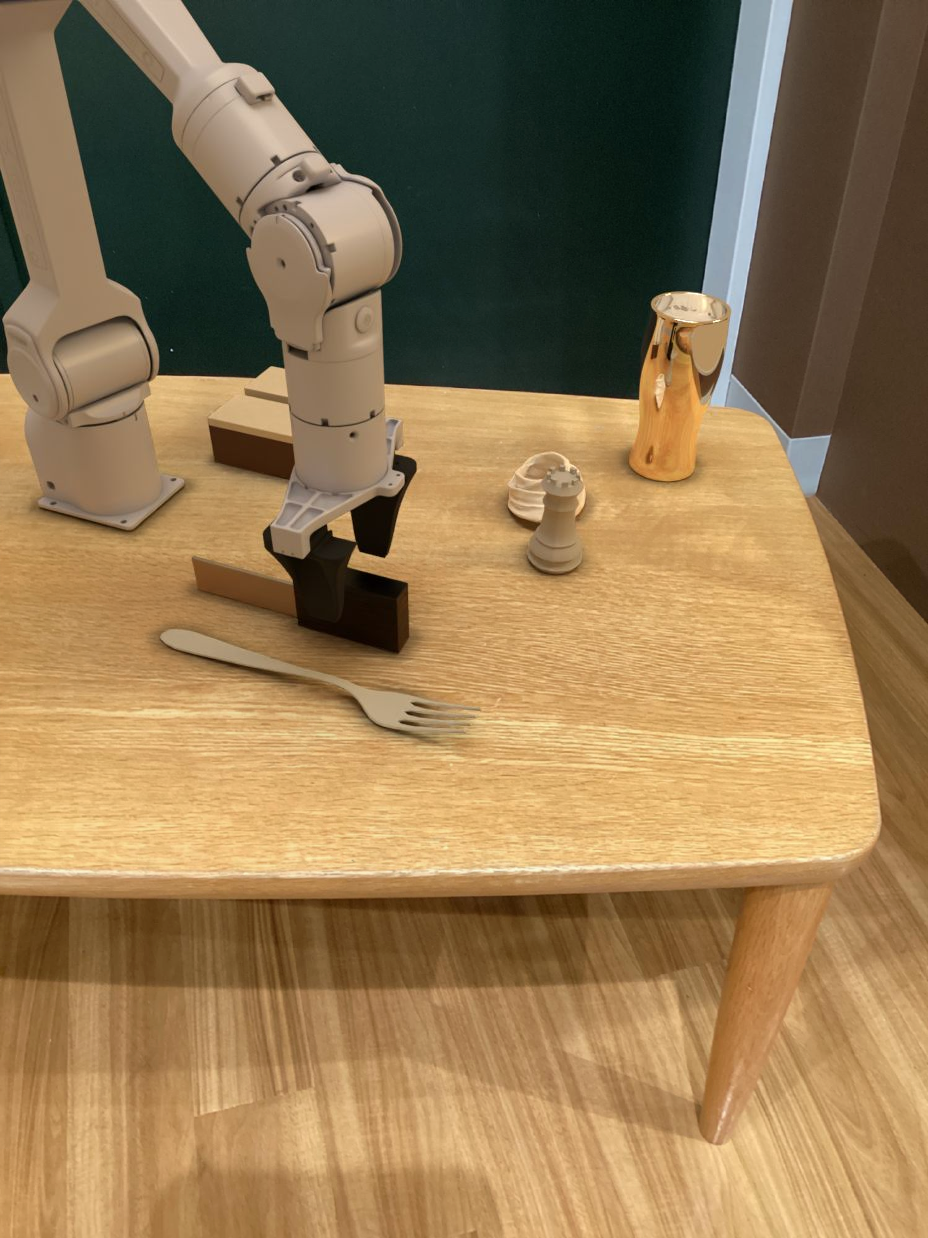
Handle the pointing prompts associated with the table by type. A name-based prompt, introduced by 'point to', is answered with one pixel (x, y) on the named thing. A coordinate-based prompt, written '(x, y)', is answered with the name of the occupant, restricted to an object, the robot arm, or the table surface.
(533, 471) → the white ruffled curved piece
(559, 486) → the rook chess piece
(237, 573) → the two-tone wooden slat
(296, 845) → the table surface
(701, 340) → the copper metal vase
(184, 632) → the fork
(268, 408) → the cake
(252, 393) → the cake slice
